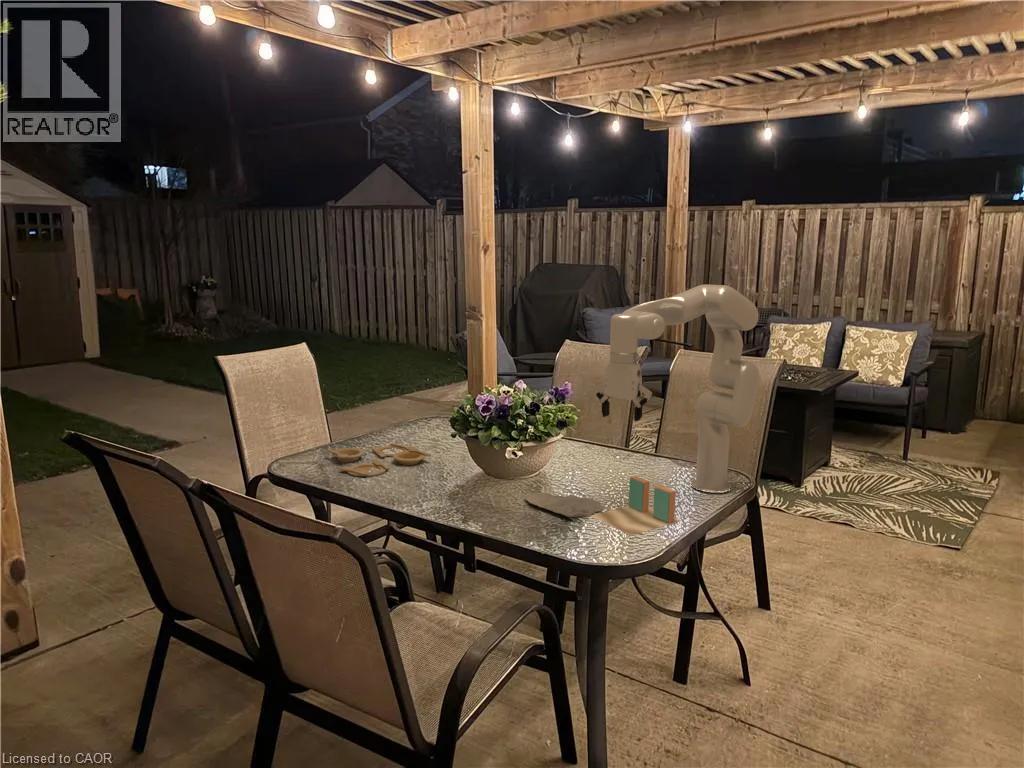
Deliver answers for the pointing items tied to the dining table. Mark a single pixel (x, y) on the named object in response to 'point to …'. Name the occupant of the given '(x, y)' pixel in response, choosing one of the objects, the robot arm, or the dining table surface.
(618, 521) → the board
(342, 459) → the tableware set
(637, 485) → the tile
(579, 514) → the stone tool
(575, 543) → the dining table surface
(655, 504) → the tile
